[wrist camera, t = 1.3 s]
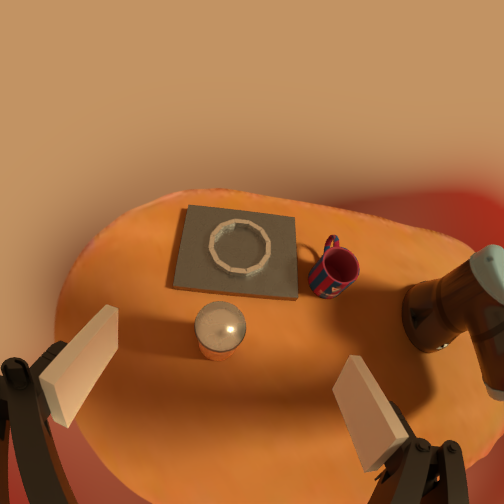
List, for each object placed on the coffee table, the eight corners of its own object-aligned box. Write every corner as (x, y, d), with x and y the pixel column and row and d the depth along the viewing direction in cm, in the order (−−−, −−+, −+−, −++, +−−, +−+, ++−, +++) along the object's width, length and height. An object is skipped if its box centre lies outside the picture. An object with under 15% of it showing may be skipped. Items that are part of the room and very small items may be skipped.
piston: (244, 342, 40) (257, 324, 30) (218, 369, 38) (222, 361, 27) (215, 317, 41) (219, 290, 31) (190, 343, 39) (183, 325, 28)
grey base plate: (292, 221, 53) (296, 213, 50) (295, 300, 45) (300, 295, 42) (188, 209, 50) (188, 200, 48) (174, 289, 42) (172, 282, 40)
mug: (306, 295, 46) (321, 280, 40) (309, 246, 51) (322, 225, 45) (341, 301, 46) (360, 287, 40) (341, 253, 51) (357, 234, 45)
